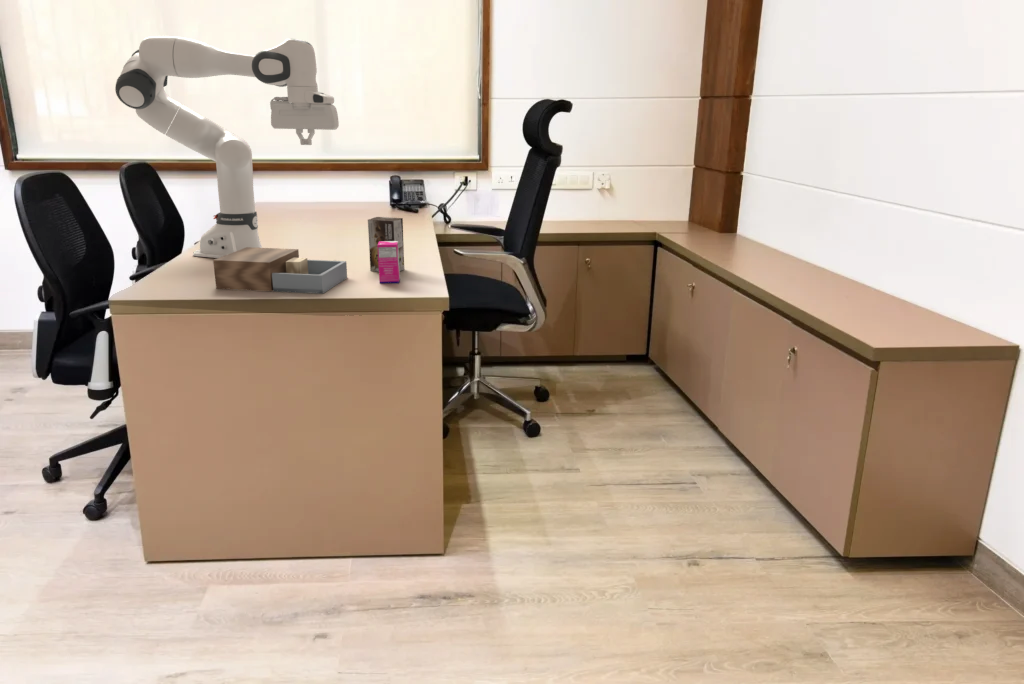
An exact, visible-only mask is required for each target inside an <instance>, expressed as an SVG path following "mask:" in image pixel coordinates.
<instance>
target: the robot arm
mask: <svg viewBox="0 0 1024 684" xmlns="http://www.w3.org/2000/svg"><path fill="white" fill-rule="evenodd" d="M317 69H318V68H317V59H316V53H315V49H314V47H313V45H312V44H311V43H310V42H308V41H306V40H303V39H298V38H293V37H289V38H286V39H285V40H284V41H283V42H281V43H280V44H278V45H276V46H274V47H272V48H268V49H265V50H260V51H259V52H257V53H256V54H254V55H251V54H243V53H235V52H231V51H227V50H223V49H220V48H218V47H216V46H213V45H210V44H208V43H206V42H203V41H200V40H196V39H193V38H187V37H184V36H183V37H181V36H173V35H171V36H169V35H165V36H164V35H162V36H161V35H158V36H157V35H155V36H148V37H144V39H143V40H141V42H140V43H139V47H138V49H136V50H135V51H134V52H133V53H132V55H131V57H130V58H129V59H128V60H127V61H126V62H125V64H124V65H123V67H122V70H121V72H120V75H119V76H118V77H117V79H116V82H115V89H114V90H115V95H116V96H117V98H118V100H119V101H120V102H121V103H122V104H123V105H125V106H126V107H128V108H130V109H134V110H135V113H136V116H138V117H139V118H140V119H141V120H142V121H144V122H145V124H148V125H149V126H151V128H153V129H155V130H156V131H158V132H159V133H161V134H163V135H166V136H167V137H168V138H170V139H172V140H174V141H176V142H178V143H179V144H181V145H183V146H185V147H187V148H188V149H190V150H192V151H195V152H196V153H198V154H199V155H202V156H204V157H205V158H208V159H210V160H211V161H213V162H215V166H216V179H217V181H216V182H217V193H218V201H219V203H218V204H219V212H218V213H216V214H215V215H213V220H215V221H216V222H215V224H214V225H213V226H212V227H210V228H209V229H208V230H207V231H206V232H205V233H203V234H202V235H201V237H200V239H199V248H198V249H196V250H194V252H193V254H192V255H193V256H194V257H204V258H215V259H217V258H220V257H223V256H225V255H228V254H230V253H233V252H236V251H238V250H241V249H243V248H246V247H254V248H263V247H262V243H261V241H260V236H259V231H258V228H259V221H258V220H259V219H258V213H257V211H256V203H255V192H254V191H255V190H254V172H253V171H254V168H253V153H252V152H253V151H252V148H251V146H250V145H249V143H248V142H247V141H246V140H245V139H244V138H242V137H240V136H238V135H236V134H234V133H233V132H232V131H230V130H228V129H227V128H224V127H223V126H221V125H220V124H217V123H216V122H214V121H213V120H211V119H209V118H207V117H206V116H203V115H202V114H200V113H198V112H197V111H195V110H193V109H192V108H190V107H188V106H186V105H185V104H183V103H182V102H179V101H177V100H175V99H174V98H172V97H170V96H169V95H168V94H167V93H166V91H165V88H164V87H166V86H168V78H169V77H177V78H184V79H185V78H186V79H187V78H188V79H198V78H209V77H217V76H226V75H227V76H231V75H232V76H241V77H242V76H243V77H250V78H255V79H257V80H258V81H260V82H261V83H262V84H266V85H269V86H276V87H279V88H283V87H286V89H287V90H286V91H287V96H275V97H273V98H271V100H270V102H269V103H270V104H269V105H270V110H271V112H270V113H271V114H270V125H271V127H272V128H273V129H274V130H275V129H277V130H278V129H279V130H281V129H282V130H283V129H284V130H285V129H286V130H295V134H296V135H297V137H298V139H299V142H300V143H299V144H300V145H301V146H311V145H312V143H313V142H312V139H313V137H314V135H315V133H316V130H322V131H323V130H328V131H329V130H330V131H331V130H332V131H333V130H337V129H338V128H339V123H340V121H339V116H338V111H337V107H336V106H335V105H334V103H335V97H334V96H332V95H329V94H327V93H325V92H320V91H319V89H318V83H317V72H318V71H317ZM304 130H307V134H308V136H307V138H304V135H303V133H304Z"/></svg>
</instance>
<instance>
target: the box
mask: <svg viewBox="0 0 1024 684" xmlns="http://www.w3.org/2000/svg"><path fill="white" fill-rule="evenodd" d="M307 261H308V274H292V273H272V280H273V291H272V292H280V293H300V294H301V293H302V294H318V295H319V294H325V293H326V292H327V291H330V290H331V289H332V288H334V287H335V286H337V285H339V284H340V283H342V282H344V281H345V280H346V279H347V278H348V269H347V267H348V266H347V264H348V263H347V261H346V260H323V259H307Z"/></svg>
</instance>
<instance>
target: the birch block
mask: <svg viewBox="0 0 1024 684" xmlns="http://www.w3.org/2000/svg"><path fill="white" fill-rule="evenodd" d="M307 260H308V257H299V258H292V259H290V260H288V261H286V273H292V274H308V261H307Z"/></svg>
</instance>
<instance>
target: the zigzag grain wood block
mask: <svg viewBox="0 0 1024 684" xmlns="http://www.w3.org/2000/svg"><path fill="white" fill-rule="evenodd" d="M299 252H300V251H299V248H279V247H277V248H276V247H262V248H254V247H246V248H243V249H241V250H238V251H236V252H233V253H230V254H228V255H225V256H223V257H220V258H215V259H213V260H212V261H213V262H212V263H213V271H214V281H215V288H216V290H217V289H218V290H233V289H238V290H239V291H257V292H260V291H262V292H274V291H273V280H272V273H286V261H288V260H290V259H292V258H300V254H299Z"/></svg>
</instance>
